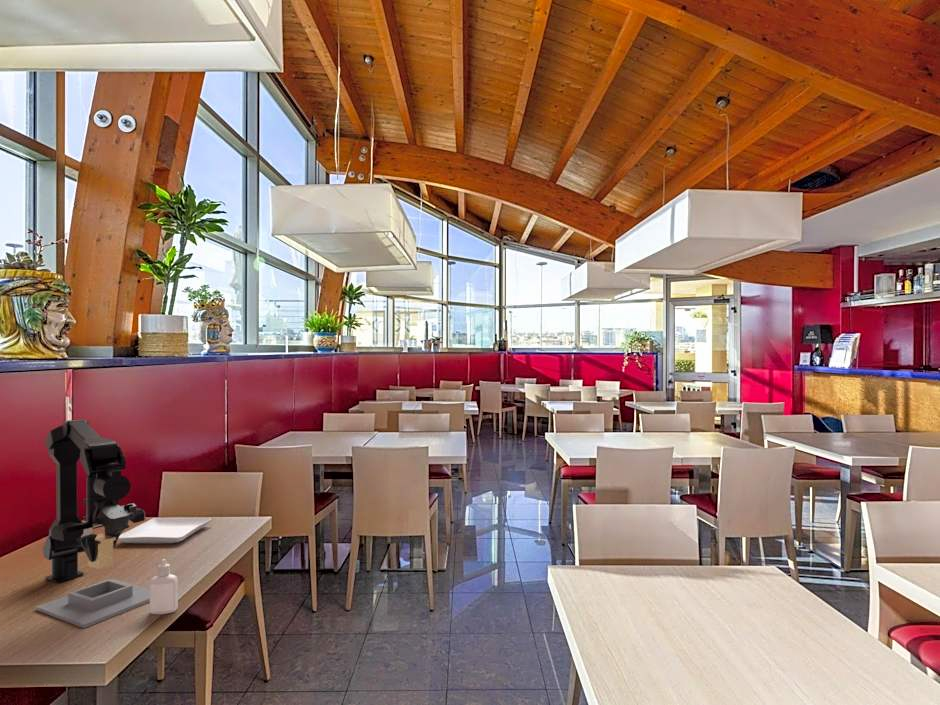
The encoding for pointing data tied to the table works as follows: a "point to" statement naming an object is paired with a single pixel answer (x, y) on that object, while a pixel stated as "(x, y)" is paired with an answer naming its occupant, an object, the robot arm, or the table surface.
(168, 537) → the salad plate
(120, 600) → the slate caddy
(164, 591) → the eye dropper bottle
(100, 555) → the wooden lipped block
